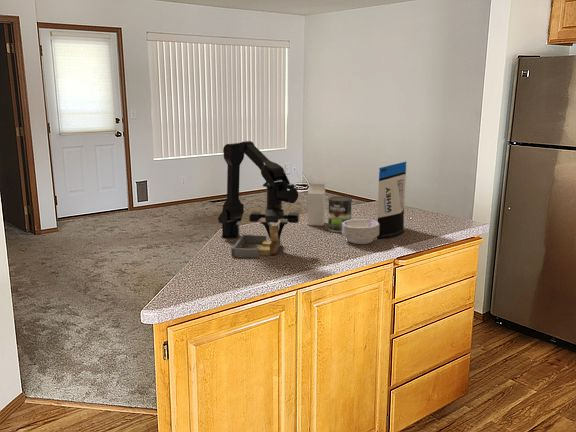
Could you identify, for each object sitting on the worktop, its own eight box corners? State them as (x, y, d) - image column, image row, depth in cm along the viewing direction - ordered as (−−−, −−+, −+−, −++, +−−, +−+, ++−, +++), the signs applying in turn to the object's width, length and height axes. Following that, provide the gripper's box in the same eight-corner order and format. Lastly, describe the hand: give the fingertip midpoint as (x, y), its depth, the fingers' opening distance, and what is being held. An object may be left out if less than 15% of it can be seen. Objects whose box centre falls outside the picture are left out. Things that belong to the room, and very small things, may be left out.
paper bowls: (335, 238, 222) (335, 220, 220) (366, 234, 228) (366, 216, 226) (353, 248, 208) (354, 229, 206) (386, 243, 214) (387, 224, 212)
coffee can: (347, 233, 230) (348, 201, 227) (324, 231, 234) (325, 199, 231) (353, 227, 239) (354, 197, 236) (332, 225, 243) (332, 195, 240)
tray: (231, 256, 199) (231, 248, 198) (242, 241, 218) (242, 234, 217) (257, 257, 198) (257, 249, 197) (266, 242, 217) (266, 235, 216)
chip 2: (258, 254, 201) (258, 249, 201) (260, 251, 206) (260, 246, 205) (270, 255, 201) (270, 250, 200) (272, 251, 205) (272, 246, 205)
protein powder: (412, 229, 236) (416, 162, 229) (387, 241, 218) (390, 168, 211) (393, 226, 242) (396, 160, 235) (366, 237, 223) (369, 166, 216)
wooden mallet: (269, 254, 200) (267, 230, 198) (274, 243, 214) (272, 221, 212) (276, 254, 200) (274, 229, 198) (281, 243, 213) (280, 220, 211)
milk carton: (322, 226, 243) (323, 185, 238) (307, 225, 244) (307, 184, 239) (325, 222, 249) (325, 182, 245) (310, 221, 251) (310, 182, 246)
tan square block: (262, 248, 209) (262, 243, 209) (264, 245, 214) (264, 240, 213) (273, 249, 209) (273, 244, 208) (275, 245, 213) (275, 240, 213)
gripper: (246, 203, 195) (246, 243, 199) (296, 204, 193) (296, 245, 197) (251, 197, 206) (252, 235, 210) (299, 198, 204) (299, 237, 208)
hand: (274, 238), depth 206 cm, fingers closed on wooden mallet, 3 cm apart
